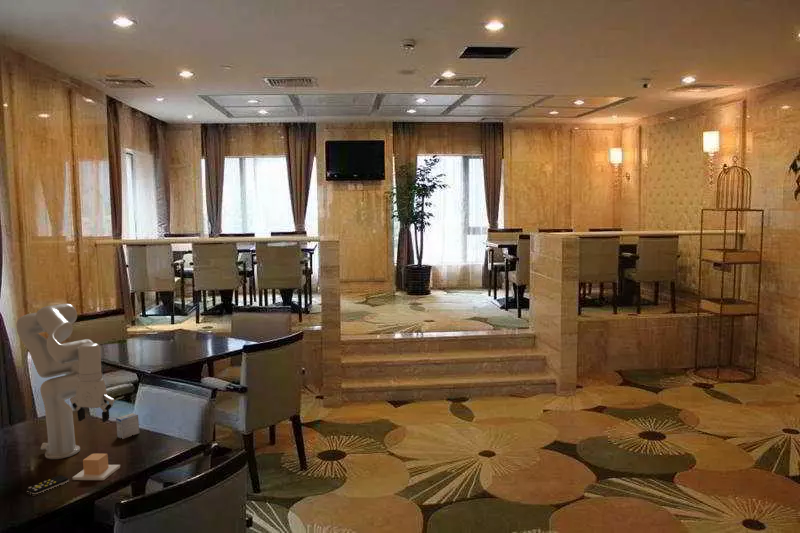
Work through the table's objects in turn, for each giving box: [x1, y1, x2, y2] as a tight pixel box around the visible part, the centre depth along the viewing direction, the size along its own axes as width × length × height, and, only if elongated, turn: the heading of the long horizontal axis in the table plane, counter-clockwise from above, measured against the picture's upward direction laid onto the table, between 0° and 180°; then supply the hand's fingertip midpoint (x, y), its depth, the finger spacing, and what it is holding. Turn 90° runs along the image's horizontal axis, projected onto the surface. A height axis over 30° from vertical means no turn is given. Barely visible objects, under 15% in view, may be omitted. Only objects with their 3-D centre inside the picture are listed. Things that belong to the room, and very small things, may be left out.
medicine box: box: [115, 412, 140, 440], centre depth 269 cm, size 8×4×9 cm, turn 144°
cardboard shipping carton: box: [82, 453, 110, 475], centre depth 230 cm, size 6×6×6 cm
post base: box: [72, 464, 121, 481], centre depth 230 cm, size 12×11×5 cm
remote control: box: [26, 475, 70, 495], centre depth 221 cm, size 6×13×2 cm, turn 148°
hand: (93, 420), depth 232 cm, fingers open, 9 cm apart
